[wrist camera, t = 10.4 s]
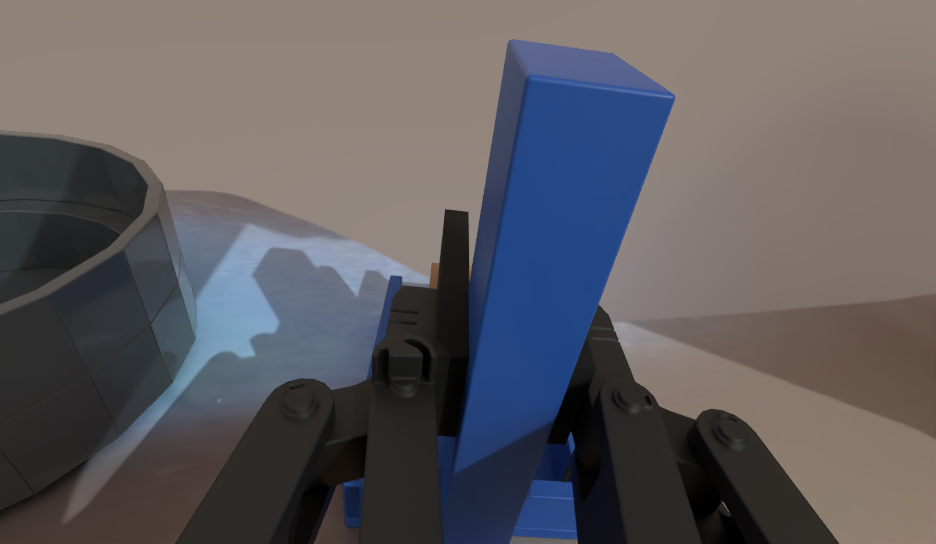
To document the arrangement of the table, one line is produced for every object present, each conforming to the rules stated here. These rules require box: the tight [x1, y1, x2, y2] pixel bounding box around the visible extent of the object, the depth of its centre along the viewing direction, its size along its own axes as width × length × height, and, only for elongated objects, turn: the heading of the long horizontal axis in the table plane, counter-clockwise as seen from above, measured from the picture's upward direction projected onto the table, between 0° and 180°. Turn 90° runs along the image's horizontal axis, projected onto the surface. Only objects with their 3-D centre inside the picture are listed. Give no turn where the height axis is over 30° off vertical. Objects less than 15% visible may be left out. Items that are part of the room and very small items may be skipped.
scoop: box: [343, 39, 675, 544], centre depth 15 cm, size 12×8×15 cm, turn 1°
